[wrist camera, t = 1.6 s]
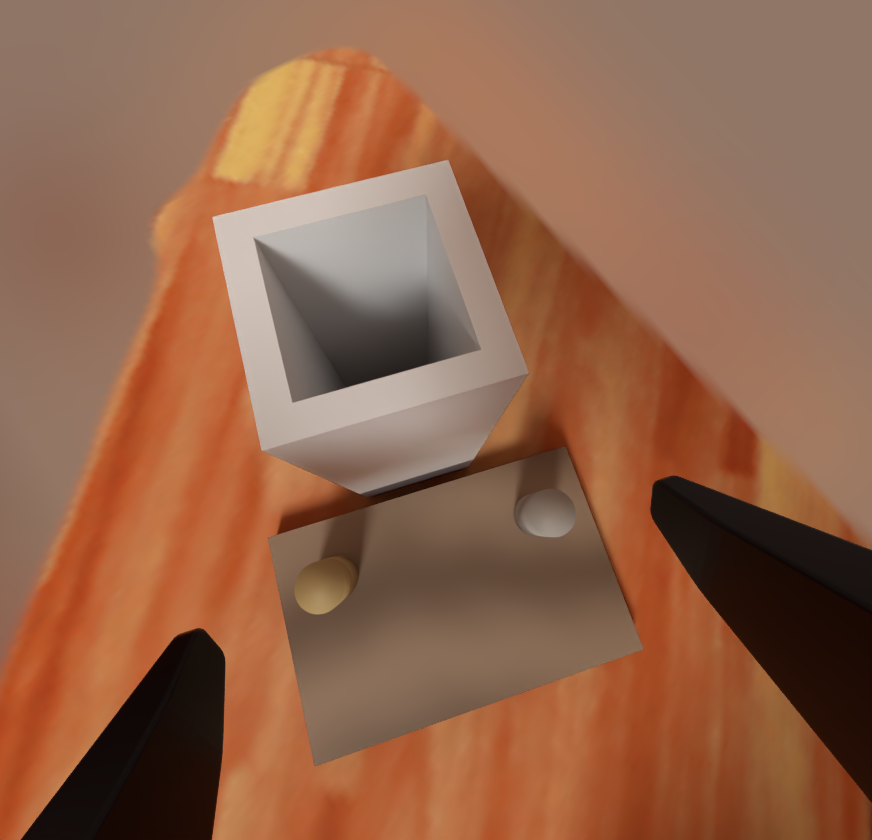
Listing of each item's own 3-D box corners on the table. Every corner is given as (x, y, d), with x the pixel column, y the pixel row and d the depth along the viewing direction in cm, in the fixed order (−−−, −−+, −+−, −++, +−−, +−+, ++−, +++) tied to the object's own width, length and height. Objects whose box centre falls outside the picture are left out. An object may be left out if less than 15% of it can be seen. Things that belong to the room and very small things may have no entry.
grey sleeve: (468, 466, 20) (529, 372, 8) (367, 497, 20) (262, 450, 7) (437, 373, 22) (448, 159, 9) (342, 400, 21) (212, 217, 9)
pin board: (632, 642, 19) (685, 673, 15) (321, 753, 18) (290, 817, 14) (559, 449, 21) (588, 432, 17) (275, 536, 20) (237, 539, 16)
